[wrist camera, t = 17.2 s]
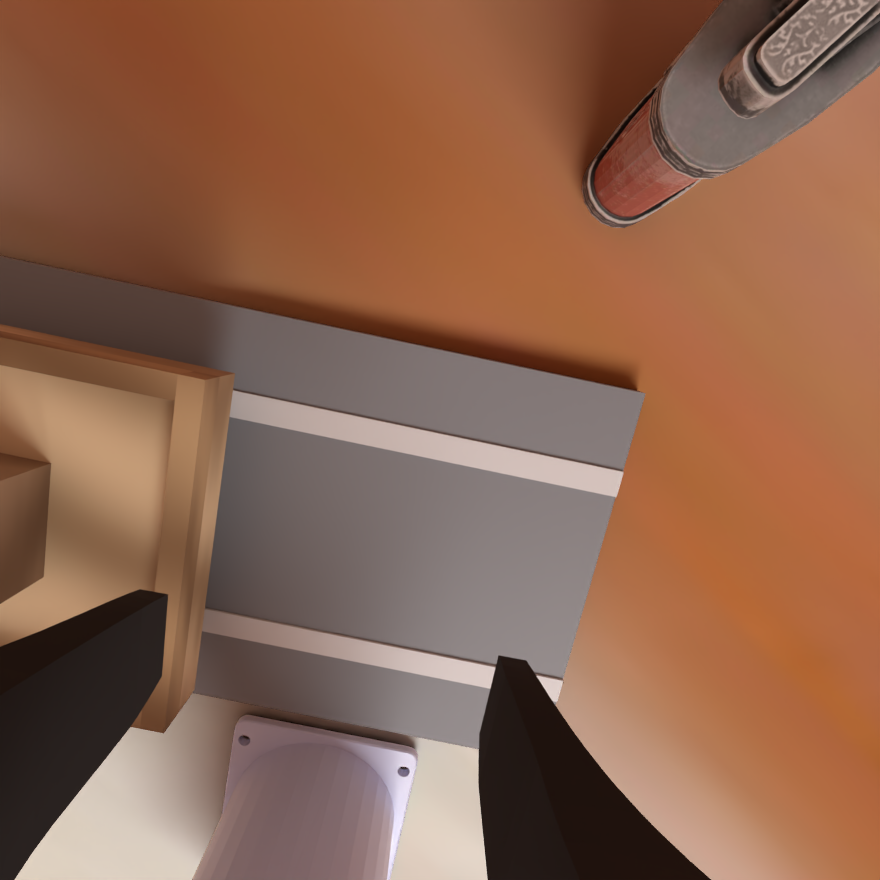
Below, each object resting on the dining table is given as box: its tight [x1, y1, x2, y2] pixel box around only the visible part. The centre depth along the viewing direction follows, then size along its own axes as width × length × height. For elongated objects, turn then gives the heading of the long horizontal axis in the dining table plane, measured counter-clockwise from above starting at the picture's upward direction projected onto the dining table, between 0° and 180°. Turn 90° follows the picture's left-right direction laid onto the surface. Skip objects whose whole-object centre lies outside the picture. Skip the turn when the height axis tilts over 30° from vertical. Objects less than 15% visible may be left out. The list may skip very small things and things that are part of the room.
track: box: [0, 256, 645, 749], centre depth 22 cm, size 16×30×1 cm, turn 78°
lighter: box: [582, 0, 880, 228], centre depth 14 cm, size 8×3×10 cm, turn 133°
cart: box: [0, 324, 235, 733], centre depth 19 cm, size 12×14×4 cm
